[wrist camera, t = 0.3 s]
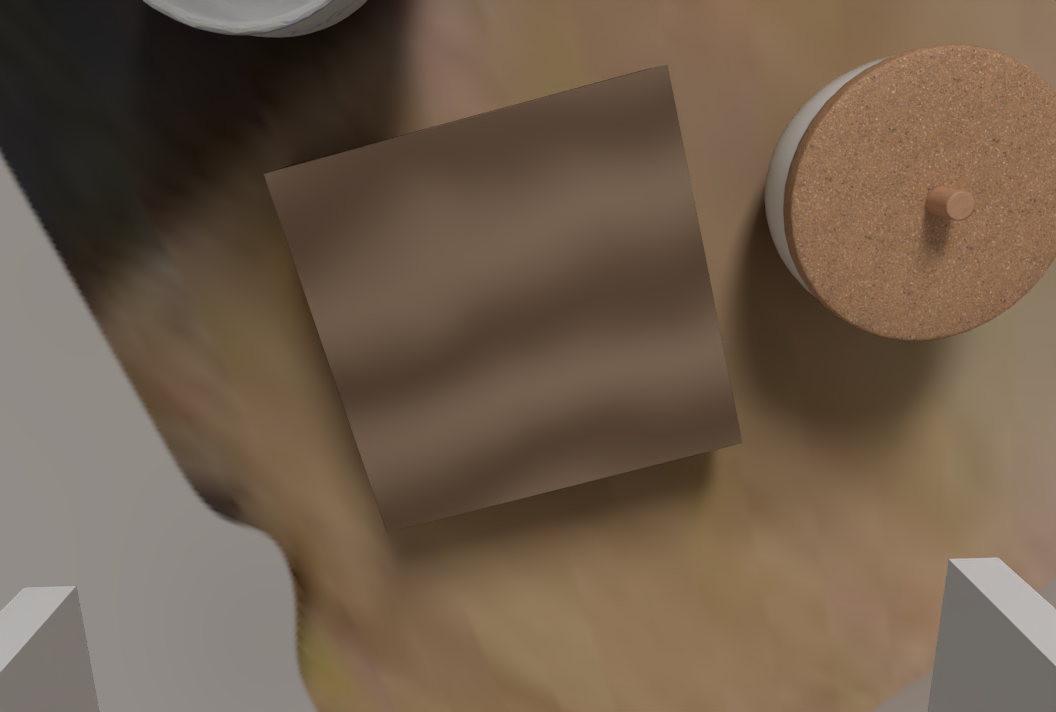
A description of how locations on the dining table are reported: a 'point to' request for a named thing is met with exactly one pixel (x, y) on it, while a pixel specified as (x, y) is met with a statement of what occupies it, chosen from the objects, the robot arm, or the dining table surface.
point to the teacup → (258, 15)
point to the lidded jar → (919, 191)
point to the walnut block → (514, 298)
